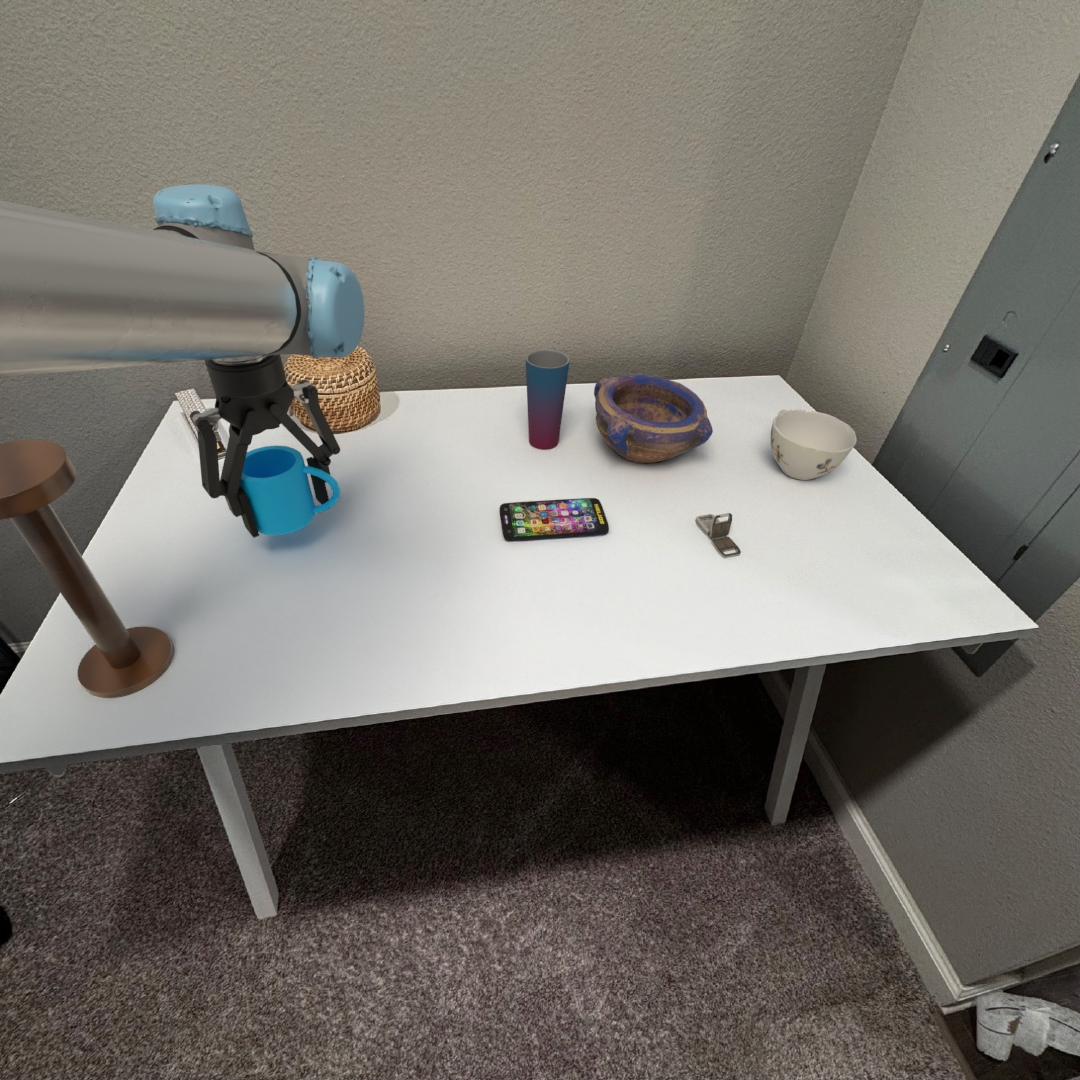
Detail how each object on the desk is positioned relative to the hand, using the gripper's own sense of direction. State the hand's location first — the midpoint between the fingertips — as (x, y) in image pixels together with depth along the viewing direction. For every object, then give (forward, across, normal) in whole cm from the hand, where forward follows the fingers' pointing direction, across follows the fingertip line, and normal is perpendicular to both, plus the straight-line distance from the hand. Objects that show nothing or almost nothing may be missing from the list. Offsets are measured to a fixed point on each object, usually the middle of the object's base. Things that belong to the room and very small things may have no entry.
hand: (288, 516), depth 81 cm
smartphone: (+5, -30, +18) cm, 36 cm away
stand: (+5, +23, +7) cm, 24 cm away
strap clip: (+5, -46, +35) cm, 58 cm away
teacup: (+4, -71, +32) cm, 78 cm away
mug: (0, -1, 0) cm, 1 cm away
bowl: (+4, -55, +13) cm, 57 cm away
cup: (+4, -43, +1) cm, 44 cm away
